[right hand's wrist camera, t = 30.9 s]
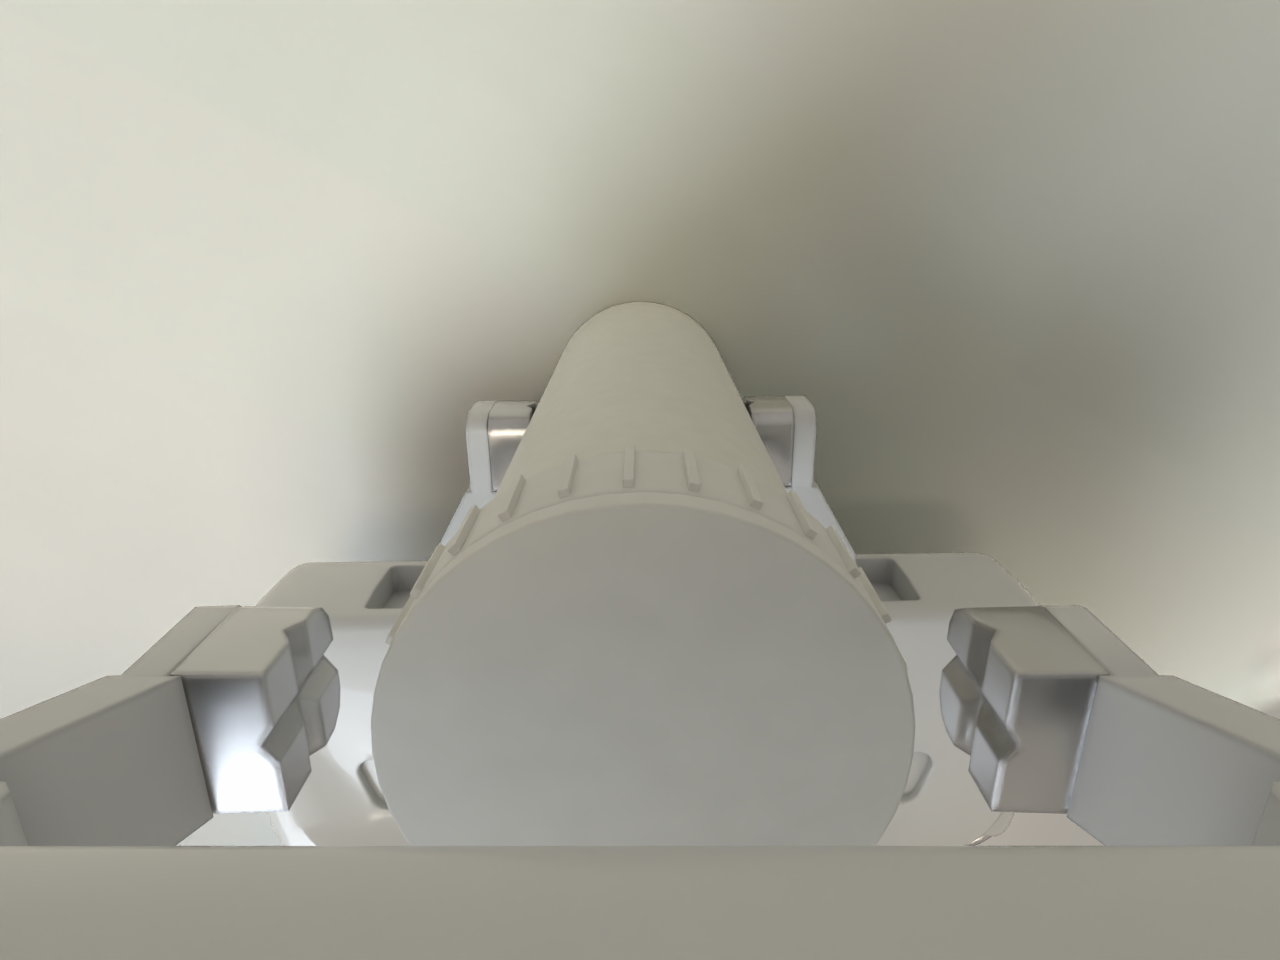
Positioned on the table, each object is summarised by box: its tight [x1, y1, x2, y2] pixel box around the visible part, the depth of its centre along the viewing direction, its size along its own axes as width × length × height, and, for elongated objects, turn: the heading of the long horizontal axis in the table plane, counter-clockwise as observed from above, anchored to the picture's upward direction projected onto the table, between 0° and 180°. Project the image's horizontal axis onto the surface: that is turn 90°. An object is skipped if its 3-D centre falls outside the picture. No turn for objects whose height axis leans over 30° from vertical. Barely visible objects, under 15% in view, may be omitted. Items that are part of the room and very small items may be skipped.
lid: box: [371, 446, 915, 846], centre depth 9 cm, size 6×6×2 cm
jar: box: [494, 302, 788, 498], centre depth 17 cm, size 5×5×16 cm
